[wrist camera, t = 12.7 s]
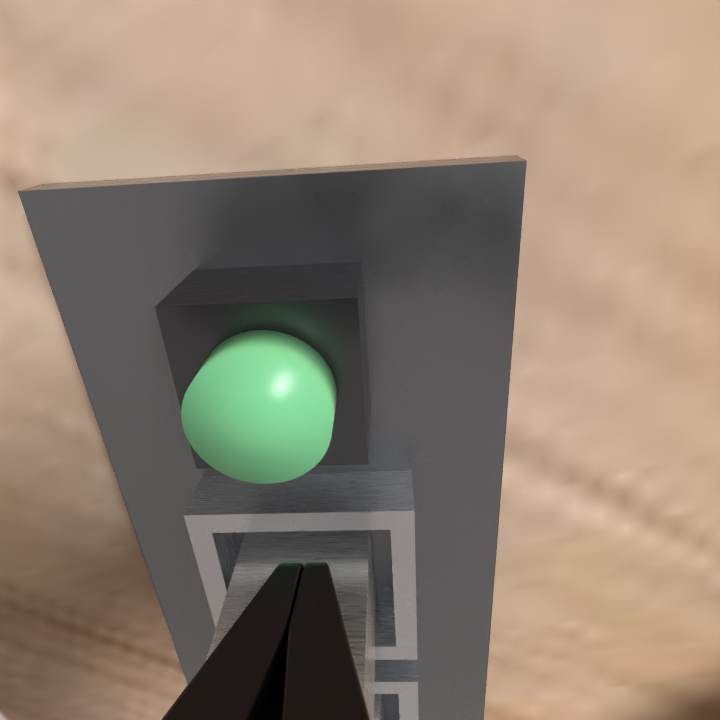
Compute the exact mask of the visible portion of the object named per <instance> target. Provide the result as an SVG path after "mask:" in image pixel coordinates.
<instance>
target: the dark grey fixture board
mask: <svg viewBox="0 0 720 720" xmlns="http://www.w3.org/2000/svg"><path fill="white" fill-rule="evenodd" d="M525 174H526V160H524V159H522V158H520V157H518V156H501V157H484V158H468V159H451V160H435V161H418V162H402V163H385V164H369V165H352V166H336V167H319V168H303V169H287V170H270V171H254V172H237V173H221V174H204V175H188V176H171V177H155V178H138V179H122V180H105V181H89V182H72V183H56V184H42V185H38V186H35V187H31V188H28V189H24V190H21V191H18V193H19V196H20V199H21V201H22V204H23V207H24V210H25V213H26V216H27V219H28V222H29V225H30V228H31V230H32V233H33V236H34V239H35V242H36V245H37V248H38V251H39V254H40V257H41V260H42V262H43V265H44V268H45V271H46V274H47V277H48V280H49V283H50V286H51V289H52V291H53V294H54V297H55V300H56V303H57V306H58V309H59V312H60V315H61V318H62V320H63V323H64V326H65V329H66V332H67V335H68V338H69V341H70V344H71V347H72V349H73V352H74V355H75V358H76V361H77V364H78V367H79V370H80V373H81V376H82V378H83V381H84V384H85V387H86V390H87V393H88V396H89V399H90V402H91V405H92V407H93V410H94V413H95V416H96V419H97V422H98V425H99V428H100V431H101V434H102V437H103V439H104V442H105V445H106V448H107V451H108V454H109V457H110V460H111V463H112V466H113V468H114V471H115V474H116V477H117V480H118V483H119V486H120V489H121V492H122V495H123V497H124V500H125V503H126V506H127V509H128V512H129V515H130V518H131V521H132V524H133V526H134V529H135V532H136V535H137V538H138V541H139V544H140V547H141V550H142V553H143V555H144V558H145V561H146V564H147V567H148V570H149V573H150V576H151V579H152V582H153V584H154V587H155V590H156V593H157V596H158V599H159V602H160V605H161V608H162V611H163V614H164V616H165V619H166V622H167V625H168V628H169V631H170V634H171V637H172V640H173V643H174V645H175V648H176V651H177V654H178V657H179V660H180V663H181V666H182V669H183V672H184V674H185V677H186V680H187V683H188V684H189V683H190V681H191V680H192V679H193V677H194V676H195V675H196V673H197V672H198V671H199V669H200V668H201V667H202V665H203V664H204V663H205V661H206V658H207V655H208V652H209V649H210V645H211V642H212V639H213V636H214V632H215V629H216V626H217V623H218V619H219V616H220V613H221V610H222V606H223V603H224V600H225V597H226V593H227V590H228V587H229V584H230V580H231V577H232V574H233V571H234V568H235V564H236V561H237V558H238V555H239V551H240V548H241V545H242V542H243V538H244V535H245V532H287V531H343V530H372V542H373V556H374V569H375V582H376V618H375V694H382V698H383V712H384V720H483V719H484V706H485V693H486V680H487V667H488V654H489V641H490V628H491V615H492V602H493V589H494V576H495V563H496V550H497V538H498V525H499V512H500V499H501V486H502V473H503V460H504V447H505V434H506V421H507V408H508V395H509V382H510V369H511V356H512V343H513V330H514V317H515V304H516V291H517V278H518V265H519V252H520V239H521V226H522V213H523V200H524V187H525ZM254 330H271V331H278V332H282V333H285V334H288V335H291V336H294V337H296V338H298V339H300V340H302V341H304V342H305V343H307V344H308V345H310V346H311V347H312V348H313V349H315V350H316V351H317V352H318V353H319V354H320V355H321V356H322V358H323V359H324V360H325V361H326V363H327V364H328V366H329V367H330V369H331V371H332V374H333V376H334V379H335V382H336V388H337V402H336V409H335V416H334V423H333V429H332V436H331V441H330V444H329V447H328V449H327V451H326V453H325V455H324V456H323V458H322V459H321V460H320V462H319V463H318V464H317V465H316V466H315V467H313V468H312V469H311V470H310V471H308V472H307V473H305V474H303V475H302V476H299V477H297V478H295V479H292V480H289V481H286V482H281V483H273V484H257V483H249V482H245V481H241V480H237V479H235V478H232V477H229V476H227V475H225V474H223V473H221V472H219V471H218V470H216V469H214V468H213V467H211V466H210V465H209V464H207V463H206V462H205V461H204V460H203V459H202V458H201V457H200V456H199V455H198V454H197V453H196V451H195V450H194V449H193V447H192V446H191V444H190V443H189V441H188V439H187V437H186V435H185V432H184V429H183V425H182V419H181V409H182V402H183V399H184V395H185V393H186V391H187V389H188V387H189V386H190V384H191V382H192V381H193V379H194V378H195V376H196V375H197V373H198V372H199V370H200V369H201V367H202V365H203V364H204V362H205V361H206V359H207V358H208V356H209V355H210V354H211V352H212V351H213V350H214V349H215V348H216V347H217V346H218V345H219V344H220V343H222V342H223V341H224V340H226V339H228V338H230V337H232V336H234V335H237V334H239V333H243V332H247V331H254Z"/></svg>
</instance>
